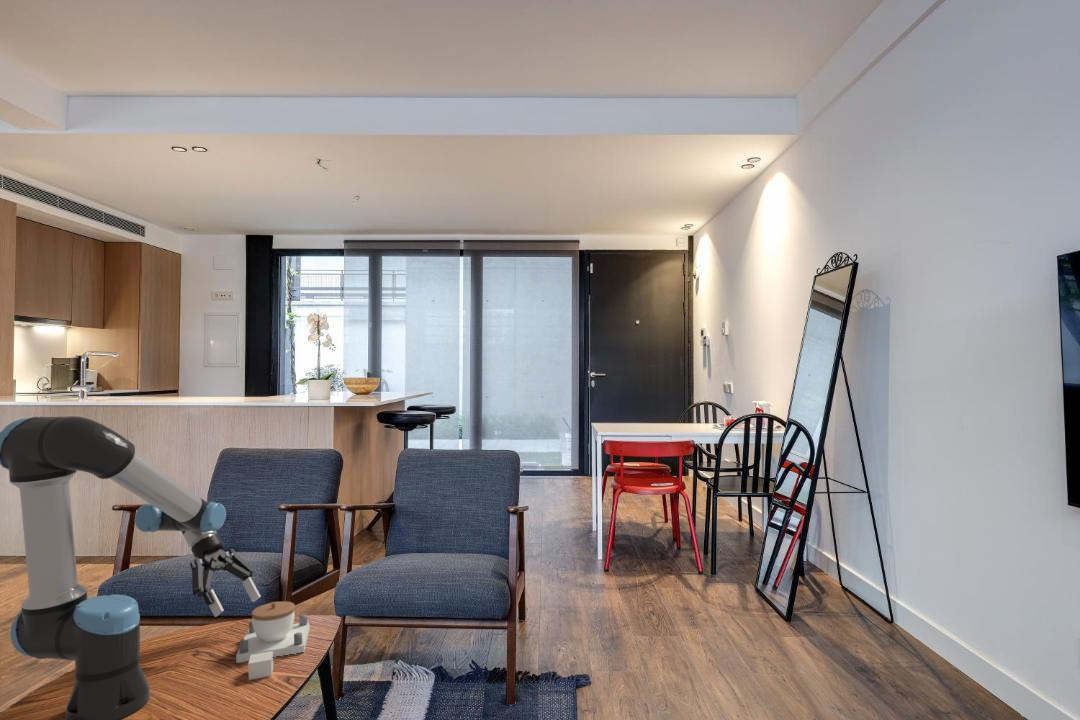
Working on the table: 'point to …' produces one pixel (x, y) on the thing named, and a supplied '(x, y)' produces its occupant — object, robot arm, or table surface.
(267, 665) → the plain off-white block
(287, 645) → the grey stand
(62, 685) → the table surface
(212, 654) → the table surface
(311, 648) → the table surface
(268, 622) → the lidded jar
